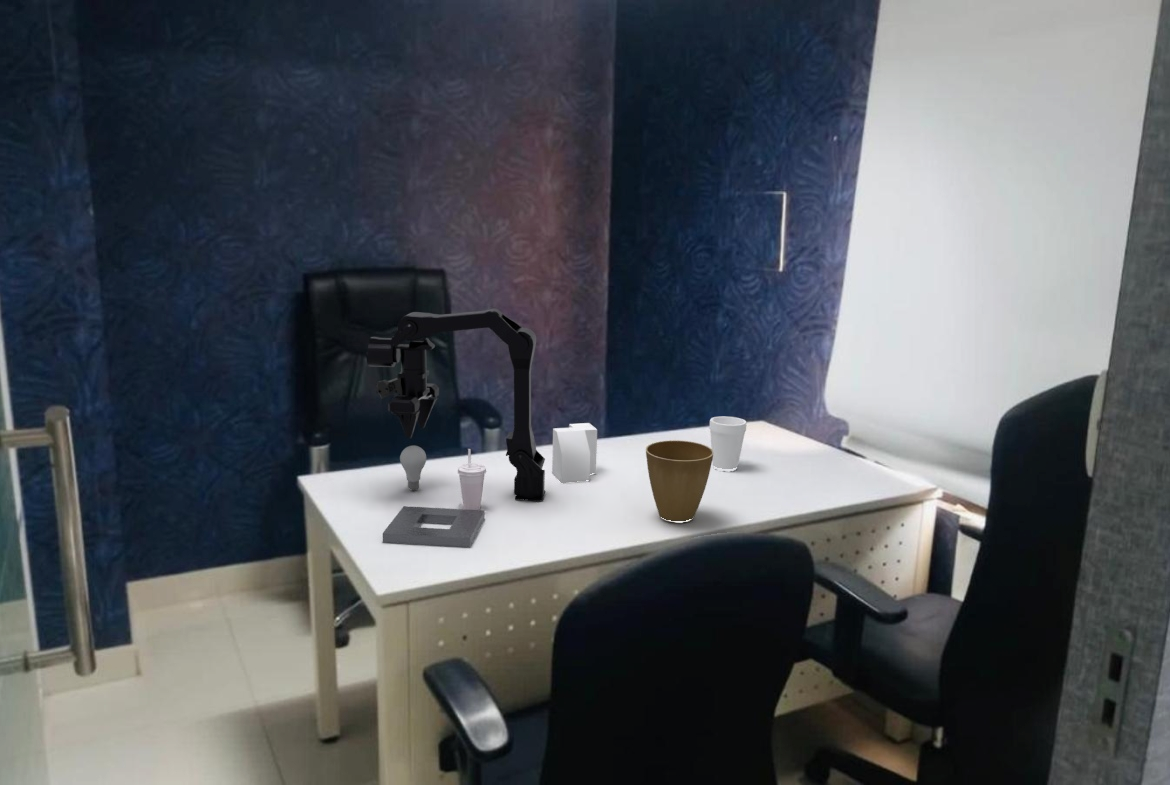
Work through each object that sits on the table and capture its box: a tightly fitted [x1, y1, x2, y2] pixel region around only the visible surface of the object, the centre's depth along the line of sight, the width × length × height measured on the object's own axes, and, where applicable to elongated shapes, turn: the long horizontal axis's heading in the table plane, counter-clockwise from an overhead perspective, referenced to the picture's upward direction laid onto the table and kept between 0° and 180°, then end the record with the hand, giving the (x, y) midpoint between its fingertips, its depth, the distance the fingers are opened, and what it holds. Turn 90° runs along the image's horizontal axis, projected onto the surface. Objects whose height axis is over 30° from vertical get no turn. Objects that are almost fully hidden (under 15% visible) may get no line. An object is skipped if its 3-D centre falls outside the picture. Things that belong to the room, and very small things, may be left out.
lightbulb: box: [399, 445, 427, 491], centre depth 212 cm, size 6×6×11 cm
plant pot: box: [645, 439, 714, 521], centre depth 199 cm, size 15×15×16 cm
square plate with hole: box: [382, 505, 486, 548], centre depth 189 cm, size 18×16×2 cm
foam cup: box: [709, 415, 747, 469], centre depth 237 cm, size 10×9×13 cm
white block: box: [551, 422, 598, 484], centre depth 228 cm, size 11×11×12 cm
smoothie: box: [457, 448, 487, 510], centre depth 201 cm, size 6×6×14 cm
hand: (415, 433), depth 210 cm, fingers open, 9 cm apart
